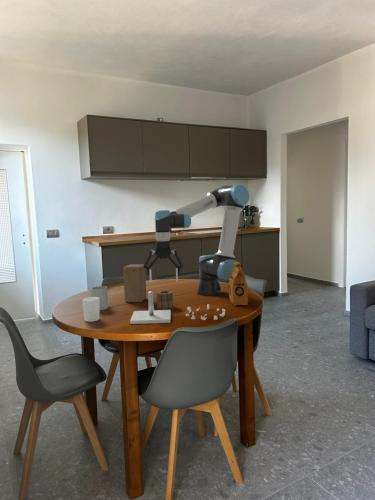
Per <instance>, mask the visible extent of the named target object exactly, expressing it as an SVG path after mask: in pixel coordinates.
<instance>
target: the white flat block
mask: <svg viewBox="0 0 375 500" xmlns="http://www.w3.org/2000/svg"><path fill="white" fill-rule="evenodd" d="M171 312H172V311H171V309H158V310H155V309H154V315H153V316H149V310H133V312H132V316H131V317H130V320H129V321H130V322H129V323H130V325H137V324H138V325H139V324H144V325H145V324H166V323H168V324H170V323H172V322H171V319H172V318H171V315H172V313H171Z"/></svg>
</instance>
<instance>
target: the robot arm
mask: <svg viewBox="0 0 375 500" xmlns="http://www.w3.org/2000/svg"><path fill="white" fill-rule="evenodd" d="M249 200H250V192H249V190H248V188H247V187H246V186H245V185H243V184H237V183H236V184H231V185H222V186H220V187H219V188H216V189H214V190H212V191H210V192H208V193H206V195H205V196H203V197H201V198H199V199H196V200H194V201H192V202H190V203H187V204H186V205H183V206H181V207H178V208H176V209H174V210H173V211H170V210H169V209H168V210H167V209H165V210H164V209H163V210H159V209H158V210H156V211H154V213H155V214H154V223H155V240H156V241H155V250H153V249H150V250H149V255H148V257H147V259H146V261H145V263H144V268H145V270H146V271H147V274H146V276H149V283H152V280H153V279H152V267H153V265H154V264H155V263H156V262H157V260H158V259H160V260H162V259H163V260H164V259H166V260H167V259H169V261H170V262H171V263H172V264H173V265H174V266H175V278H176V279H175V281H176V283H179V282H178V281H179V279H178V277H179V276H180V274H181V269H182V268H184V265H183V262H182V261H181V259H180V257H179V254H178V252H177V249H176V248H175V249H172V250H171V241H170V240H171V229H185V228H186V229H188V228H190V226H191V224H192V217H195V216H197V215H199V214H201V213H204V212H205V211H207V210H210V209H216V208H219V207H223V209H224V214H223V219H222V220H223V221H222V227H221V233H220V239H219V244H218V249H217V252H216V253H214V254H207V255H201V256H199V259H198V265H199V267H198V268H199V269H198V270H199V271H198V272H199V280H198V281H199V282H198V284H197V289H196V294H198V295H201V296H216V295H217V296H218V295H221V294H222V293H223V288H222V286H221V282H220V280H224V281H225V280H226V281H227V280H228V281H229V278H230V273H231V271H232V270H233V268H234V267H235V264H234V262H235V261H236V256H235V255H234V250H235V244H236V240H237V239H236V238H237V234H238V226H239V220H240V214H241V212H242V211H244V207H245V205H247V204H248V203H249ZM154 254H155V255H156V256H155V257H154V259H152V261H151V263H149V262H150V260H151V257H152V255H154ZM171 254H173V255H174V256H175V258H176V260H177V262H178V263H177V262H176V261H175V260H174V258H173V257H172V256H171Z"/></svg>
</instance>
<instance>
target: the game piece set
mask: <svg viewBox="0 0 375 500" xmlns="http://www.w3.org/2000/svg"><path fill="white" fill-rule="evenodd" d="M186 309H187V311H188V313H186V314H185V317H190V313H191V312H192V313H191V314H192V315H191V317H190V319H191V320H196V317H195V316H194V314H195V312H194V311H192V307H190V306H187V308H186ZM199 309H200V307H198V308H196V311H199ZM206 309H207V310H208V311H209V310H210V304H209V303H207V305H206ZM221 310H222V313H220V314H219V316H220V317H222V318H224V316H225V315H226V309H224V308H222V309H221ZM216 311H217V312H220V308H219V307H218V308H216ZM207 318H208V317H207V313H205V314H204V316H202V315H200V320H202V321H206V319H207ZM216 320H217V321H218V315H213V321H216Z"/></svg>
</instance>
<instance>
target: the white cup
mask: <svg viewBox="0 0 375 500" xmlns="http://www.w3.org/2000/svg"><path fill="white" fill-rule="evenodd" d="M81 301H82V310H83V317H84V321H85V322H96V321H99V320H100V311H101V310H100V298H98V297H91V296H90V297H89V296H88V297H84V298H82V300H81Z"/></svg>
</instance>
